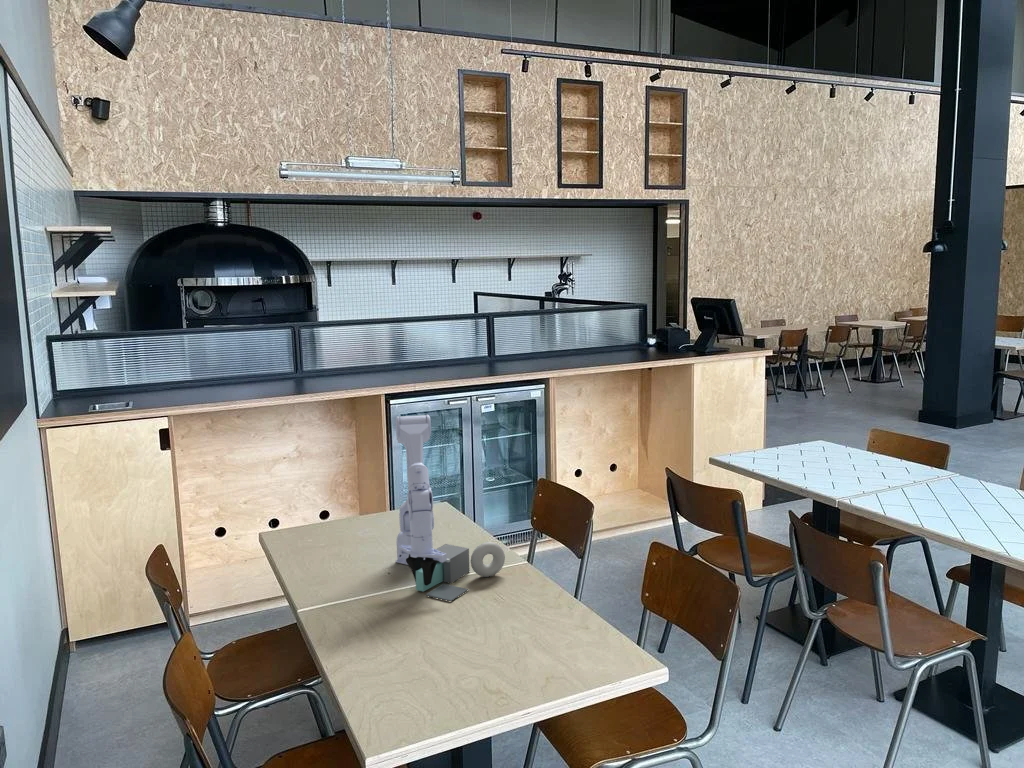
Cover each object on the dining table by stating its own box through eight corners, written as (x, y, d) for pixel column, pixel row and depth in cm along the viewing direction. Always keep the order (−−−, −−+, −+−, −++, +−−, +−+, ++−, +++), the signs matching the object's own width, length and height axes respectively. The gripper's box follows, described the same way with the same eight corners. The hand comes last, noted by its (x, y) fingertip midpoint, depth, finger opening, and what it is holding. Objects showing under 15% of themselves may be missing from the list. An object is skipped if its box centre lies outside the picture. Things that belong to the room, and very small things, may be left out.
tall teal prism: (415, 589, 203) (415, 570, 203) (440, 577, 213) (439, 559, 212) (423, 591, 202) (423, 572, 201) (447, 578, 211) (447, 560, 211)
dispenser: (425, 579, 212) (424, 555, 211) (446, 567, 220) (445, 543, 219) (449, 584, 208) (448, 560, 207) (469, 572, 216) (468, 548, 215)
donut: (473, 581, 209) (472, 546, 208) (469, 577, 212) (468, 542, 211) (507, 575, 213) (506, 541, 212) (502, 571, 216) (502, 537, 215)
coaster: (425, 596, 200) (425, 594, 200) (443, 585, 207) (443, 583, 207) (451, 602, 196) (450, 600, 196) (468, 591, 203) (468, 589, 203)
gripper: (390, 534, 202) (392, 583, 204) (434, 543, 195) (436, 593, 197) (406, 526, 208) (408, 574, 210) (450, 534, 201) (452, 583, 203)
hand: (423, 583), depth 204 cm, fingers closed on tall teal prism, 2 cm apart
